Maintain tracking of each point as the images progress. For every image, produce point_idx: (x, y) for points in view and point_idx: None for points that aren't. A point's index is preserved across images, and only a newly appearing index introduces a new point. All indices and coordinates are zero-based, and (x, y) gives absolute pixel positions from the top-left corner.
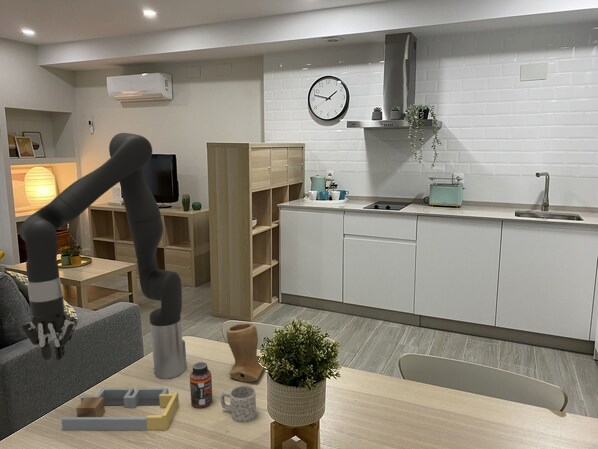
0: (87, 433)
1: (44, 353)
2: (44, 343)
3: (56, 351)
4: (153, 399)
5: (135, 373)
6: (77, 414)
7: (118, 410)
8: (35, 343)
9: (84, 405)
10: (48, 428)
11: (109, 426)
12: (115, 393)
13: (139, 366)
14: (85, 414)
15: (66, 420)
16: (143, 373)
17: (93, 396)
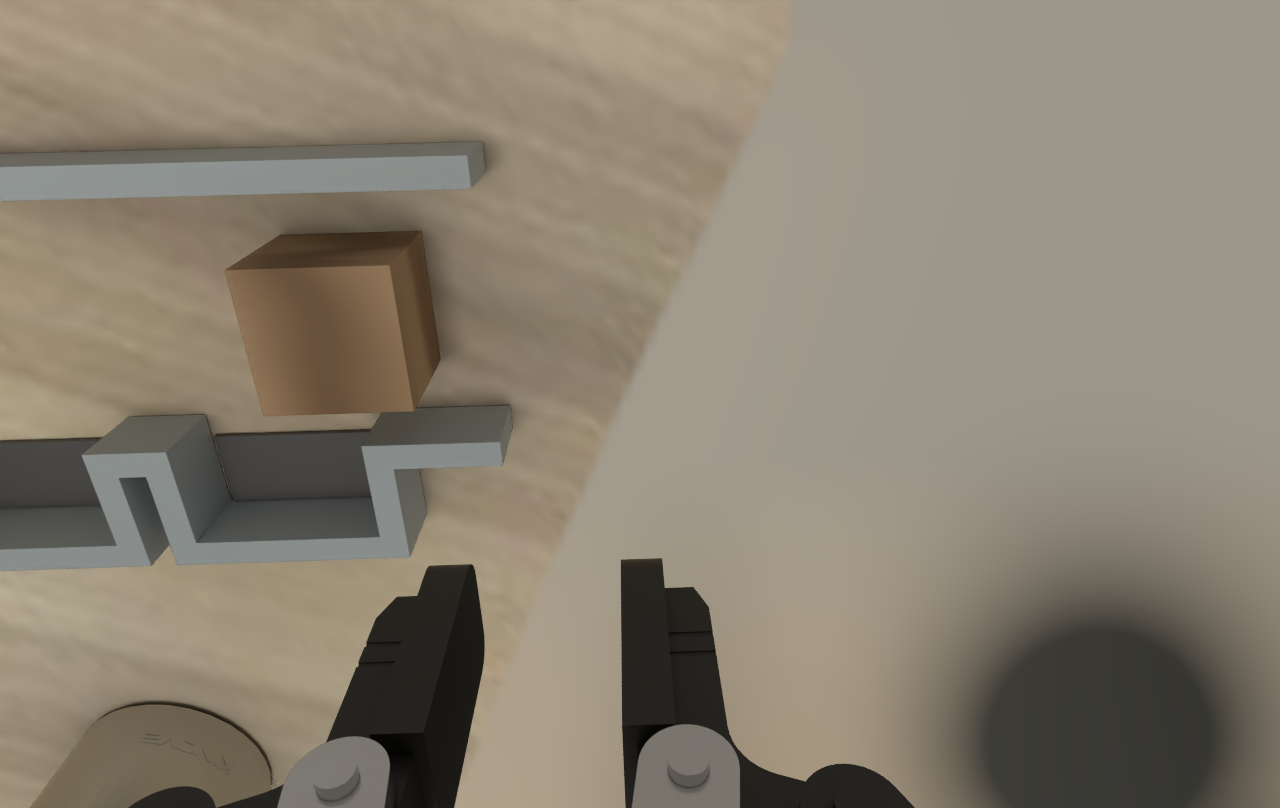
0: (263, 104)
1: (648, 628)
2: (633, 802)
3: (417, 663)
4: (56, 500)
5: None
6: (399, 248)
7: (225, 382)
8: (832, 793)
9: (341, 301)
10: (604, 160)
11: (100, 156)
12: (311, 523)
13: None
14: (335, 252)
15: (426, 155)
16: None
17: (409, 460)
